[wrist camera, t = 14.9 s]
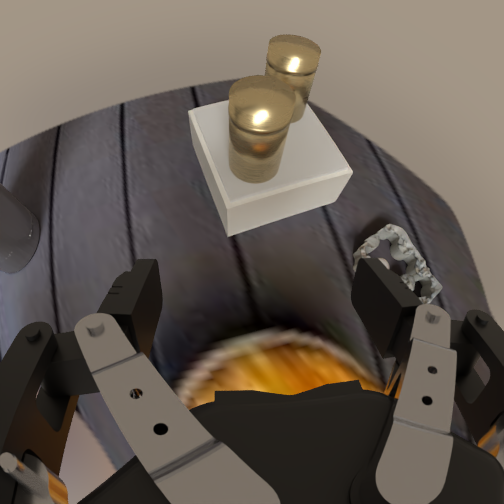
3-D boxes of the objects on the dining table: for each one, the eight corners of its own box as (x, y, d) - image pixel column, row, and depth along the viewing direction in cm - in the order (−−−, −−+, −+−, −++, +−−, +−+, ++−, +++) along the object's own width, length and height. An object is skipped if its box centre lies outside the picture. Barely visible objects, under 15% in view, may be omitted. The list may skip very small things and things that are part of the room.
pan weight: (271, 127, 30) (282, 61, 22) (253, 99, 32) (260, 36, 23) (312, 119, 31) (331, 58, 23) (292, 92, 33) (305, 33, 24)
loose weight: (238, 190, 27) (242, 123, 19) (221, 150, 29) (219, 81, 20) (288, 175, 28) (308, 110, 20) (267, 138, 30) (279, 71, 21)
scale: (227, 236, 34) (226, 206, 27) (191, 143, 38) (186, 104, 31) (335, 201, 36) (355, 169, 29) (286, 119, 40) (294, 82, 34)
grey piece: (342, 257, 34) (354, 244, 30) (384, 228, 36) (398, 214, 32) (391, 331, 31) (409, 327, 27) (429, 296, 33) (448, 288, 29)
